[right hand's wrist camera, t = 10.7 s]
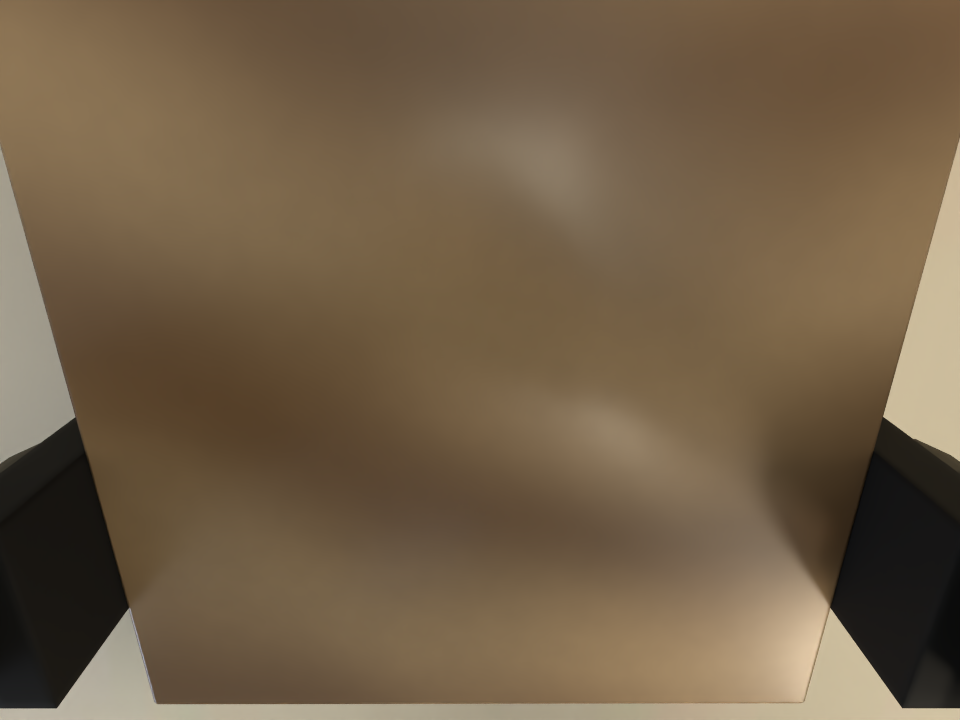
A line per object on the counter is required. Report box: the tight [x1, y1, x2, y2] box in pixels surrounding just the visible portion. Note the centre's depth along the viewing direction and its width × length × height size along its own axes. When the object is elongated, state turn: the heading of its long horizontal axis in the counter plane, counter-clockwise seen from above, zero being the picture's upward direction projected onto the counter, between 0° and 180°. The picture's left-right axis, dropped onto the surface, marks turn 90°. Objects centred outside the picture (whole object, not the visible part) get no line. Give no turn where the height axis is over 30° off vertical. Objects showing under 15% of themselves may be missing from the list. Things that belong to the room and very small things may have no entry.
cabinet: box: [0, 0, 960, 704], centre depth 10 cm, size 20×11×10 cm, turn 0°
